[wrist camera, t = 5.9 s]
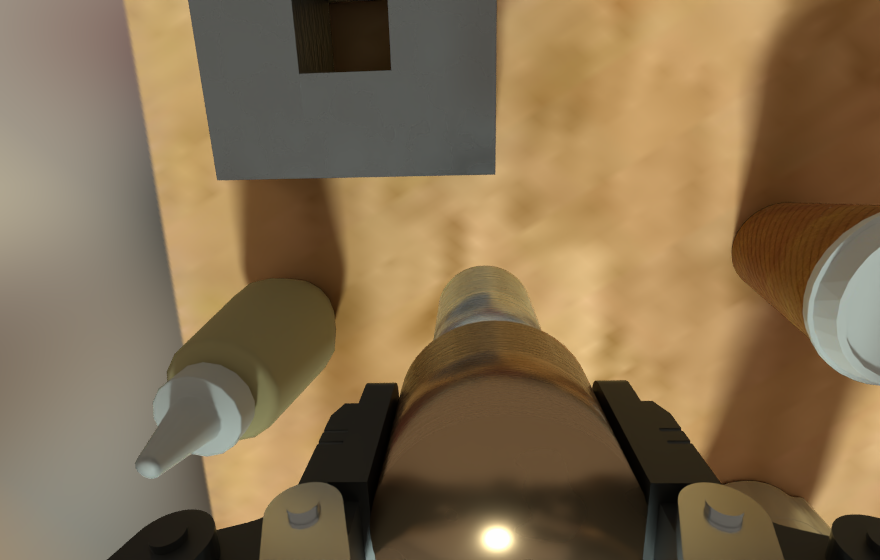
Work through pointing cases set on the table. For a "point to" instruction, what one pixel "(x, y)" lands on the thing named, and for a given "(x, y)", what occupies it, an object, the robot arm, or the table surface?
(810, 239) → the disposable coffee cup
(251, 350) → the squeeze bottle
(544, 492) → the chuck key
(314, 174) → the block
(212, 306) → the table surface
